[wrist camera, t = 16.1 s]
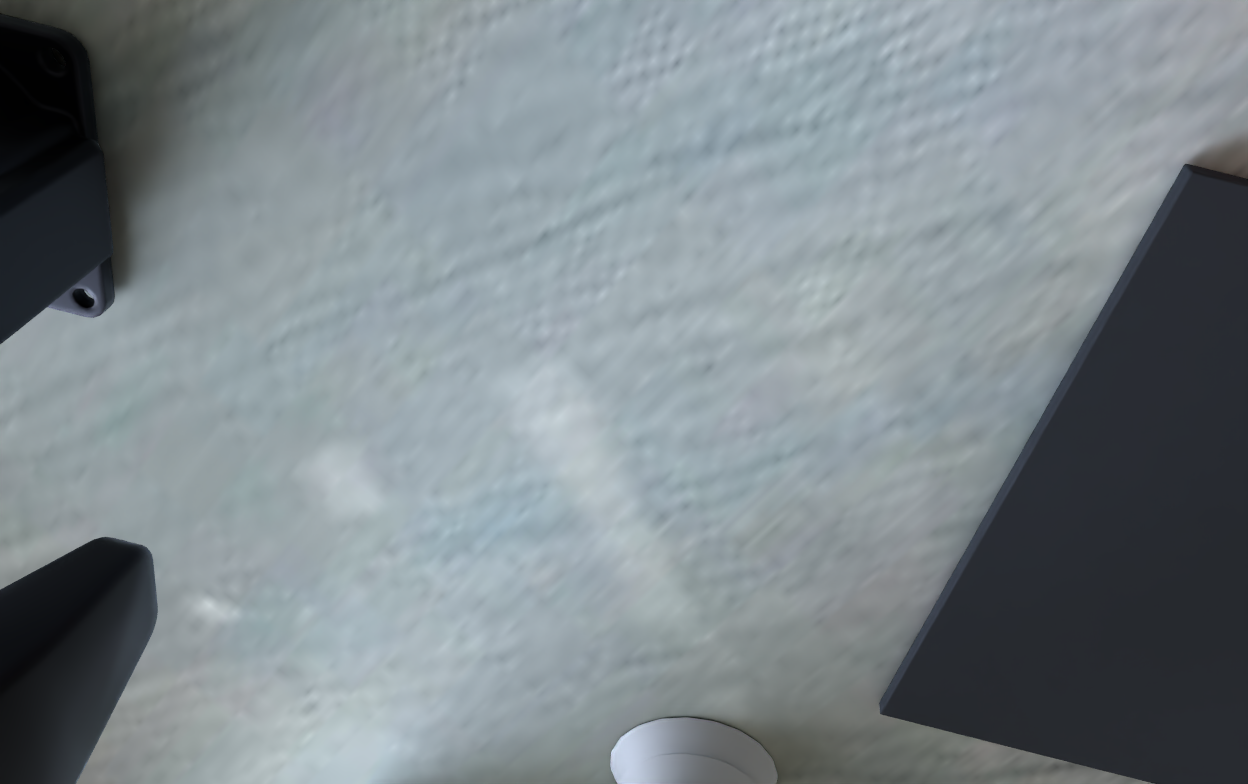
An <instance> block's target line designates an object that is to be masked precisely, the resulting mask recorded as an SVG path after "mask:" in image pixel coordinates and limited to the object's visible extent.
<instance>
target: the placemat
mask: <svg viewBox="0 0 1248 784" xmlns="http://www.w3.org/2000/svg"><path fill="white" fill-rule="evenodd" d="M879 705H880V714H882V715H886V716H890V717H894V718H898V719H901V720H905V721H909V722H913V723H917V724H921V725H925V726H929V727H933V728H937V729H941V730H945V731H949V732H953V733H957V734H961V735H965V736H969V737H973V738H977V739H980V740H984V741H988V742H992V743H996V744H1000V745H1004V746H1008V747H1012V748H1016V749H1020V750H1024V751H1028V752H1032V753H1036V754H1040V755H1044V756H1048V757H1052V758H1056V759H1059V760H1063V761H1067V762H1071V763H1075V764H1079V765H1083V766H1087V767H1091V768H1095V769H1099V770H1103V771H1107V772H1111V773H1115V774H1119V775H1123V776H1127V777H1131V778H1135V779H1138V780H1142V781H1146V782H1150V783H1154V784H1248V179H1245V178H1241V177H1237V176H1233V175H1229V174H1225V173H1221V172H1217V171H1213V170H1209V169H1205V168H1201V167H1198V166H1194V165H1190V164H1185V165H1184V166H1183V168H1182V170H1181V172H1180V173H1179V175H1178V177H1177V179H1176V180H1175V182H1174V184H1173V186H1172V187H1171V189H1170V191H1169V193H1168V194H1167V196H1166V198H1165V200H1164V202H1163V203H1162V205H1161V207H1160V209H1159V210H1158V212H1157V214H1156V216H1155V217H1154V219H1153V221H1152V223H1151V224H1150V226H1149V228H1148V230H1147V232H1146V233H1145V235H1144V237H1143V239H1142V240H1141V242H1140V244H1139V246H1138V247H1137V249H1136V251H1135V253H1134V254H1133V256H1132V258H1131V260H1130V262H1129V263H1128V265H1127V267H1126V269H1125V270H1124V272H1123V274H1122V276H1121V277H1120V279H1119V281H1118V283H1117V284H1116V286H1115V288H1114V290H1113V292H1112V293H1111V295H1110V297H1109V299H1108V300H1107V302H1106V304H1105V306H1104V307H1103V309H1102V311H1101V313H1100V314H1099V316H1098V318H1097V320H1096V322H1095V323H1094V325H1093V327H1092V329H1091V330H1090V332H1089V334H1088V336H1087V337H1086V339H1085V341H1084V343H1083V344H1082V346H1081V348H1080V350H1079V352H1078V353H1077V355H1076V357H1075V359H1074V360H1073V362H1072V364H1071V366H1070V367H1069V369H1068V371H1067V373H1066V374H1065V376H1064V378H1063V380H1062V382H1061V383H1060V385H1059V387H1058V389H1057V390H1056V392H1055V394H1054V396H1053V397H1052V399H1051V401H1050V403H1049V404H1048V406H1047V408H1046V410H1045V412H1044V413H1043V415H1042V417H1041V419H1040V420H1039V422H1038V424H1037V426H1036V427H1035V429H1034V431H1033V433H1032V434H1031V436H1030V438H1029V440H1028V442H1027V443H1026V445H1025V447H1024V449H1023V450H1022V452H1021V454H1020V456H1019V457H1018V459H1017V461H1016V463H1015V464H1014V466H1013V468H1012V470H1011V472H1010V473H1009V475H1008V477H1007V479H1006V480H1005V482H1004V484H1003V486H1002V487H1001V489H1000V491H999V493H998V494H997V496H996V498H995V500H994V502H993V503H992V505H991V507H990V509H989V510H988V512H987V514H986V516H985V517H984V519H983V521H982V523H981V524H980V526H979V528H978V530H977V532H976V533H975V535H974V537H973V539H972V540H971V542H970V544H969V546H968V547H967V549H966V551H965V553H964V554H963V556H962V558H961V560H960V562H959V563H958V565H957V567H956V569H955V570H954V572H953V574H952V576H951V577H950V579H949V581H948V583H947V584H946V586H945V588H944V590H943V592H942V593H941V595H940V597H939V599H938V600H937V602H936V604H935V606H934V607H933V609H932V611H931V613H930V614H929V616H928V618H927V620H926V622H925V623H924V625H923V627H922V629H921V630H920V632H919V634H918V636H917V637H916V639H915V641H914V643H913V644H912V646H911V648H910V650H909V652H908V653H907V655H906V657H905V659H904V660H903V662H902V664H901V666H900V667H899V669H898V671H897V673H896V674H895V676H894V678H893V680H892V682H891V683H890V685H889V687H888V689H887V690H886V692H885V694H884V696H883V697H882V699H881V701H880V703H879Z"/></svg>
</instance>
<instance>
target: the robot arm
mask: <svg viewBox="0 0 1248 784" xmlns="http://www.w3.org/2000/svg"><path fill="white" fill-rule="evenodd" d="M52 48H53V49H55V50H57V51H58V52H59V53H60V54H61V55H62V56H63V58H64V61H65V66H63V65H61V64H59V63H58V61H57V60H56V59H55V58H54V55H53V52H52ZM112 254H113V241H112V232H111V222H110V213H109V203H108V194H107V185H106V175H105V166H104V156H103V152H102V150H101V148H100V146H99V145H98V137H97V128H96V119H95V110H94V100H93V91H92V82H91V73H90V64H89V58H88V55H87V51H86V50H85V48H84V47H83V45H82V43H81V42H80V41H79V40H78V39H77V38H76V37H75V36H73V35H72V34H71V33H69V32H66V31H64V30H62V29H58V28H54V27H50V26H46V25H42V24H38V23H35V22H31V21H27V20H23V19H19V18H15V17H11V16H7V15H3V14H0V344H1V343H3V342H4V341H5V340H6V339H8V338H9V337H10V336H11V335H13V334H14V333H15V332H16V331H18V330H19V329H20V328H21V327H23V326H24V325H25V324H26V323H28V322H29V321H30V320H31V319H33V318H34V317H35V316H36V315H38V314H39V313H40V312H41V311H43V310H44V309H45V308H46V307H49V308H53V309H57V310H61V311H65V312H69V313H72V314H76V315H80V316H84V317H93V318H94V317H97V316H100V315H101V314H102V313H103V312H105V311H106V310H107V309H108V308H109V307H110V306H111V305H112V304H113V302H114V297H115V294H114V284H113V275H112V266H111V257H110V256H111V255H112ZM84 290H86V291H88V292H89V293H90V294H91V295H92V296H93V298H94V299H92V298H90V297H89V296H88V295H87V294H86V293H85V292H84ZM157 613H158V605H157V595H156V585H155V575H154V565H153V558H152V554H151V552H150V551H149V550H148V548H147V547H145V546H142V545H139V544H135V543H131V542H127V541H123V540H119V539H115V538H110V537H101V538H98V539H94V540H92V541H90V542H88V543H86V544H84V545H83V546H81V547H79V548H77V549H75V550H73V551H71V552H70V553H68V554H66V555H64V556H62V557H60V558H58V559H57V560H55V561H53V562H51V563H49V564H47V565H45V566H44V567H42V568H40V569H38V570H36V571H34V572H32V573H31V574H29V575H27V576H25V577H23V578H21V579H19V580H18V581H16V582H14V583H12V584H10V585H8V586H6V587H5V588H3V589H1V590H0V784H76V783H77V781H78V779H79V777H80V775H81V773H82V771H83V770H84V768H85V766H86V764H87V762H88V760H89V758H90V756H91V754H92V752H93V750H94V748H95V746H96V744H97V742H98V740H99V738H100V736H101V734H102V732H103V730H104V728H105V726H106V724H107V722H108V720H109V718H110V716H111V714H112V712H113V710H114V708H115V706H116V704H117V702H118V700H119V698H120V697H121V695H122V693H123V691H124V689H125V687H126V685H127V683H128V681H129V679H130V677H131V675H132V673H133V671H134V669H135V667H136V665H137V663H138V661H139V659H140V657H141V655H142V653H143V651H144V649H145V647H146V645H147V643H148V641H149V639H150V637H151V635H152V633H153V630H154V627H155V624H156V620H157Z"/></svg>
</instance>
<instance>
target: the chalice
mask: <svg viewBox="0 0 1248 784" xmlns="http://www.w3.org/2000/svg"><path fill="white" fill-rule="evenodd" d="M610 768H611V771H612V773H613V775H614V778H615V780H616V782H617V784H776V783H777V779H778V774H777V771H776V768H775V764H774V761H773V759H772V757H771V756H770V755H769V754H768V753H767V752H766V750H765V749H764V748H763V747H762V746H761V744H760V743H758V742H757V741H755V740H754V739H752V738H751V737H749V736H748V735H746V734H744V733H743V732H741V731H740V730H737V729H735V728H732V727H729V726H726V725H723V724H721V723H718V722H715V721H710V720H703V719H695V718H688V717H683V718H667V719H658V720H655V721H652V722H649V723H645V724H642V725H639V726H636V727H635V728H634V729H632V730H631V731H629V732H628V733H626V734H625V735H623V736H622V737H620V739H619V741H618V742H617V744H616V745H615V747H614V748H613V750H612V752H611V765H610Z"/></svg>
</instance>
